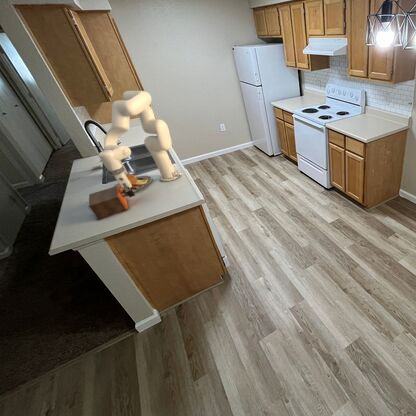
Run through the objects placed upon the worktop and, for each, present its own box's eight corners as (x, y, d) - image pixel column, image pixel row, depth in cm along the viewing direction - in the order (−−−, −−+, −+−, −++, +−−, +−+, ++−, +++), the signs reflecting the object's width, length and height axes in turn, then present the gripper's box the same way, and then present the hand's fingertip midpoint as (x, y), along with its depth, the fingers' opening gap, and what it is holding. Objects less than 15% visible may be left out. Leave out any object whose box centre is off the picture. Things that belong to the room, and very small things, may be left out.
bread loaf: (136, 179, 189) (132, 172, 185) (137, 182, 186) (133, 175, 182) (124, 183, 185) (119, 176, 182) (124, 186, 182) (120, 178, 178)
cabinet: (124, 199, 174) (116, 186, 168) (126, 210, 163) (117, 196, 157) (98, 207, 168) (89, 194, 162) (98, 219, 157) (88, 206, 151)
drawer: (131, 196, 176) (123, 183, 170) (133, 207, 165) (125, 194, 159) (101, 205, 168) (92, 193, 163) (101, 217, 157) (92, 204, 152)
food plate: (105, 195, 180) (102, 191, 178) (129, 178, 198) (127, 174, 196) (137, 196, 176) (134, 191, 174) (159, 178, 195) (157, 174, 193)
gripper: (125, 173, 155) (140, 198, 166) (122, 164, 164) (137, 189, 176) (110, 177, 151) (126, 203, 162) (108, 168, 161) (124, 193, 172)
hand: (132, 195), depth 169 cm, fingers closed
